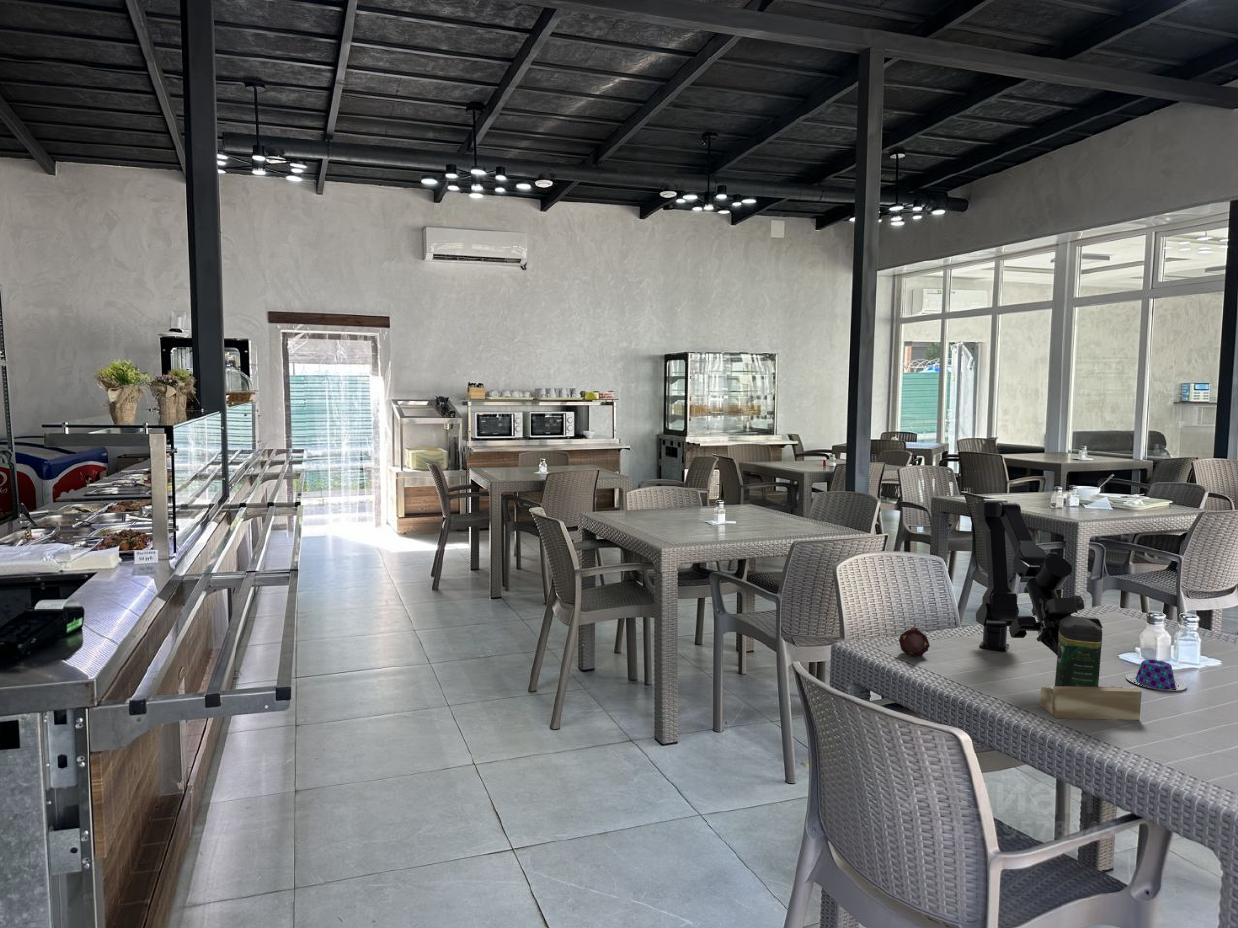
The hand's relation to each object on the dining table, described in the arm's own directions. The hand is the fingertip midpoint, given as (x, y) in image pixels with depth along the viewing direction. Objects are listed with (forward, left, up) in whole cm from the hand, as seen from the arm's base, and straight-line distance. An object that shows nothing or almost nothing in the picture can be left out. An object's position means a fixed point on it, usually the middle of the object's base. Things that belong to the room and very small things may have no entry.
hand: (1066, 661), depth 184 cm
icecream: (-10, -35, -8) cm, 37 cm away
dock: (+8, +5, -8) cm, 12 cm away
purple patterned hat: (-22, +17, -8) cm, 29 cm away
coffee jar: (+4, +2, -8) cm, 9 cm away
